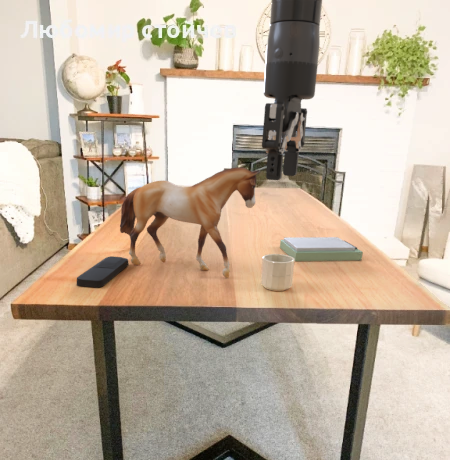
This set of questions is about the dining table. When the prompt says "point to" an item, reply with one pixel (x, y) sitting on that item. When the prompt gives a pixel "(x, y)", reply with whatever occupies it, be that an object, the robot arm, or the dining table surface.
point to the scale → (320, 249)
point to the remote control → (102, 272)
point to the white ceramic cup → (277, 272)
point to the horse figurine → (186, 208)
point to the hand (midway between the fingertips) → (282, 177)
